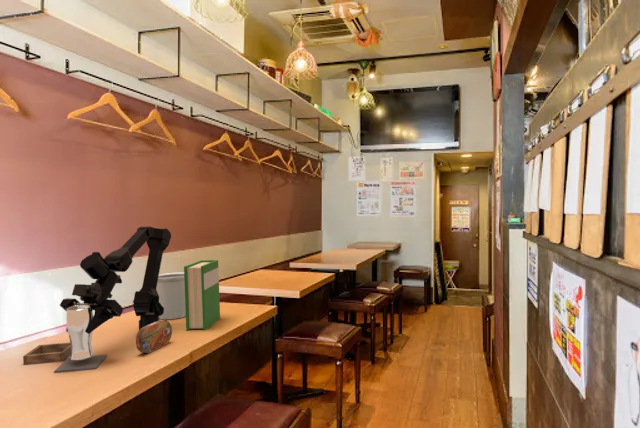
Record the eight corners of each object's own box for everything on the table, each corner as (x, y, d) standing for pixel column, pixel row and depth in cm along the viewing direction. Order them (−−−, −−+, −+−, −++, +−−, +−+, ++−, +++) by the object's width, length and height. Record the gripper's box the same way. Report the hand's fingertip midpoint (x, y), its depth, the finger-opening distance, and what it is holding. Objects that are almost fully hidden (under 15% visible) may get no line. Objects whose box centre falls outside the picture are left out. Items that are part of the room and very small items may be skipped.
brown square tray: (76, 349, 142) (76, 341, 142) (63, 360, 131) (63, 352, 131) (39, 352, 140) (39, 344, 140) (23, 364, 129) (23, 356, 129)
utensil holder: (146, 318, 180) (144, 277, 179) (171, 310, 193) (170, 271, 193) (174, 321, 174) (172, 278, 174) (198, 312, 188) (196, 272, 187)
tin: (142, 357, 133) (141, 329, 133) (134, 356, 134) (133, 329, 134) (173, 341, 147) (172, 317, 147) (165, 341, 148) (164, 316, 148)
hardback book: (205, 330, 160) (203, 266, 159) (186, 330, 160) (183, 266, 160) (220, 318, 177) (218, 260, 177) (202, 318, 178) (200, 260, 178)
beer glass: (92, 359, 126) (89, 309, 125) (65, 362, 124) (62, 311, 123) (97, 351, 133) (95, 303, 132) (72, 354, 131) (69, 305, 130)
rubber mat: (107, 356, 135) (107, 354, 135) (96, 368, 124) (96, 367, 124) (68, 359, 132) (68, 357, 132) (54, 372, 122) (53, 371, 122)
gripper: (63, 272, 134) (33, 317, 123) (114, 273, 129) (88, 319, 119) (83, 292, 141) (57, 336, 131) (133, 293, 137) (110, 338, 127)
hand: (77, 332), depth 127 cm, fingers closed on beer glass, 7 cm apart
